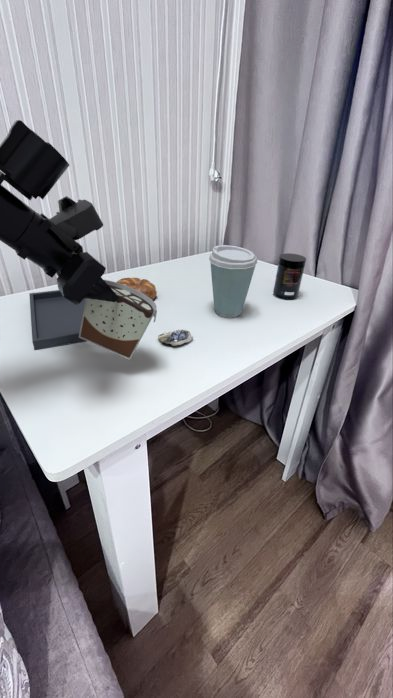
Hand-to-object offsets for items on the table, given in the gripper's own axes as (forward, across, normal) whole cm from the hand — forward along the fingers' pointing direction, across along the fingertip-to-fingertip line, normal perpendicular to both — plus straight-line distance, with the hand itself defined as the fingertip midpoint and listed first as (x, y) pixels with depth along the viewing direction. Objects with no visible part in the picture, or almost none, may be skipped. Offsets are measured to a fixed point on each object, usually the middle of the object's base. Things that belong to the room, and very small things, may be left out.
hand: (110, 293), depth 54 cm
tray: (+8, +21, +11) cm, 25 cm away
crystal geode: (+19, +2, 0) cm, 19 cm away
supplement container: (+45, +8, -27) cm, 53 cm away
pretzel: (+20, +26, -1) cm, 32 cm away
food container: (+6, 0, +7) cm, 9 cm away
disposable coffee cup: (+31, +7, -12) cm, 34 cm away
